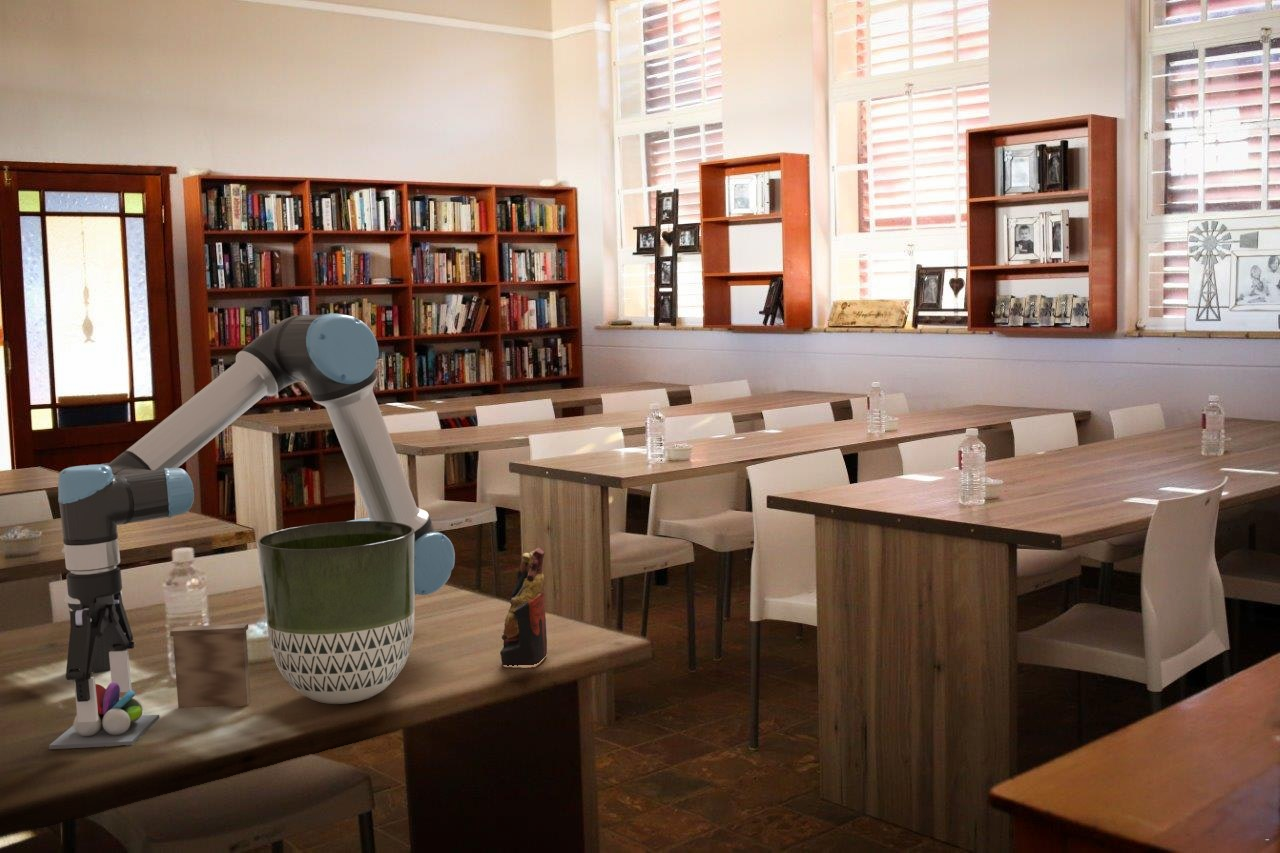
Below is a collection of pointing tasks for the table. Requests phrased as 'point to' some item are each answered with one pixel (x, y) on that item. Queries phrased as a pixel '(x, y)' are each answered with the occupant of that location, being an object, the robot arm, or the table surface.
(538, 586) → the statue
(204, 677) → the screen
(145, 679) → the table surface
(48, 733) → the table surface
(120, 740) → the pad
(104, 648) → the coffee cup
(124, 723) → the rainbow petal cluster
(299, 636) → the planter
